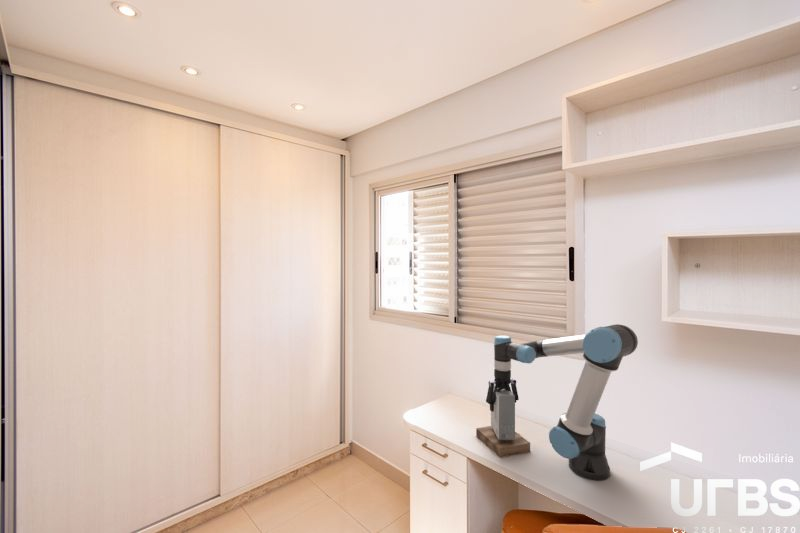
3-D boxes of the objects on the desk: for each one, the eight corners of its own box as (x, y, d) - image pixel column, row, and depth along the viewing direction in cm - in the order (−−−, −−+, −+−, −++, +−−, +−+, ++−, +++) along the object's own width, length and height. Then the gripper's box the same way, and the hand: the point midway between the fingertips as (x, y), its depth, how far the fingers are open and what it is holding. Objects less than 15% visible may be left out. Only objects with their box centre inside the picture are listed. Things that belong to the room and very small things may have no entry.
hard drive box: (515, 440, 159) (515, 396, 159) (498, 440, 159) (498, 396, 159) (505, 424, 175) (505, 384, 174) (490, 424, 175) (490, 384, 174)
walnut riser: (530, 451, 160) (530, 442, 160) (499, 457, 155) (499, 448, 155) (504, 431, 179) (504, 423, 179) (476, 436, 174) (476, 428, 174)
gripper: (517, 364, 173) (516, 410, 174) (478, 368, 167) (477, 416, 167) (527, 369, 166) (526, 416, 167) (486, 373, 160) (486, 423, 160)
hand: (502, 416), depth 167 cm, fingers closed on hard drive box, 9 cm apart
